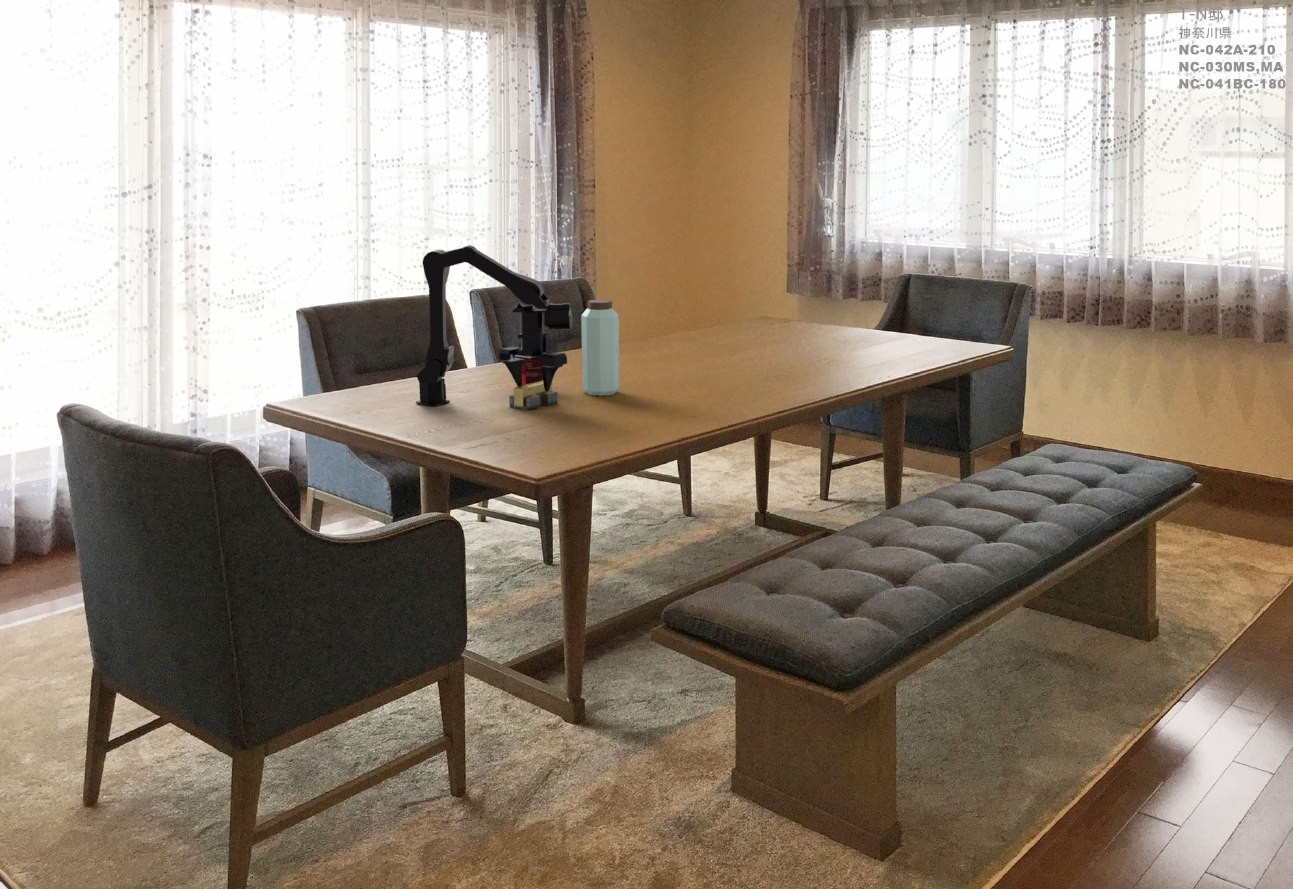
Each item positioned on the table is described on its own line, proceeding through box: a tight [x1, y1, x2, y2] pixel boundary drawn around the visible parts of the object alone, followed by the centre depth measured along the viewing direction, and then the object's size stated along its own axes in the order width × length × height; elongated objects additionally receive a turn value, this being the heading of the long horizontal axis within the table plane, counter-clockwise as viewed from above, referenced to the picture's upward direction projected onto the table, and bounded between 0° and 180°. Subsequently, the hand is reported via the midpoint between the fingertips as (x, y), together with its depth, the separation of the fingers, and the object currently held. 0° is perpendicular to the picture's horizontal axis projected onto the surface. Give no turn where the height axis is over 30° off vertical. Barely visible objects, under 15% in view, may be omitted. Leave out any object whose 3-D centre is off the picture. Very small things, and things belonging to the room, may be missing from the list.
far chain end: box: [540, 390, 558, 406], centre depth 326 cm, size 4×7×3 cm, turn 55°
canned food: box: [520, 353, 546, 386], centre depth 342 cm, size 8×8×11 cm
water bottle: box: [580, 299, 620, 397], centre depth 336 cm, size 10×10×25 cm
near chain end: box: [508, 393, 541, 411], centre depth 321 cm, size 4×7×3 cm, turn 55°
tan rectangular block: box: [513, 381, 553, 406], centre depth 323 cm, size 12×3×4 cm, turn 145°
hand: (533, 389), depth 323 cm, fingers open, 9 cm apart
